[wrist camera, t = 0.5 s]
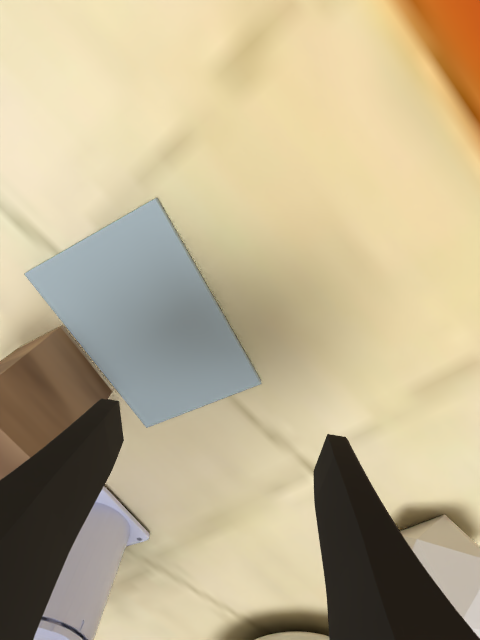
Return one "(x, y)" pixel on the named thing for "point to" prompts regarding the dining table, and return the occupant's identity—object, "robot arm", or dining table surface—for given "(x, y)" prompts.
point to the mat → (146, 316)
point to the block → (44, 394)
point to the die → (450, 564)
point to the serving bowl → (294, 636)
